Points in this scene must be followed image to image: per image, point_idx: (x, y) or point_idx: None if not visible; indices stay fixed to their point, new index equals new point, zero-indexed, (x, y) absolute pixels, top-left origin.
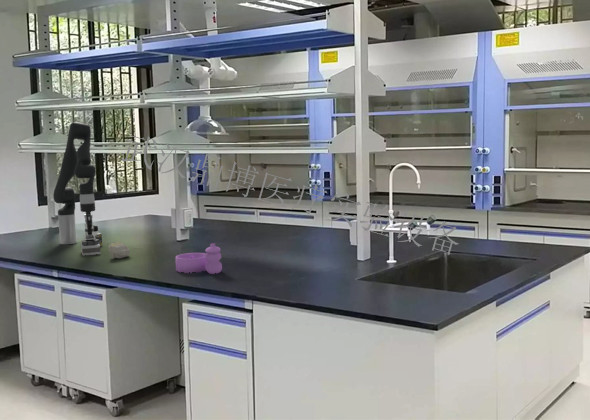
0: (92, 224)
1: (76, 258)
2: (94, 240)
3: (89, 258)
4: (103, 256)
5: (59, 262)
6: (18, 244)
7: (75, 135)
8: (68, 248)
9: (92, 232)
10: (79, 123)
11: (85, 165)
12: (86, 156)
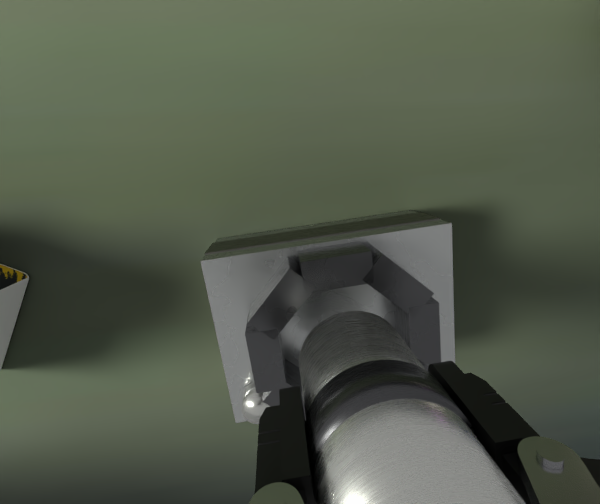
0: (506, 487)
1: (501, 367)
2: (388, 295)
3: (553, 279)
4: (528, 177)
5: (583, 446)
6: None
7: None
8: (25, 483)
9: (423, 369)
10: None
11: None
12: None
